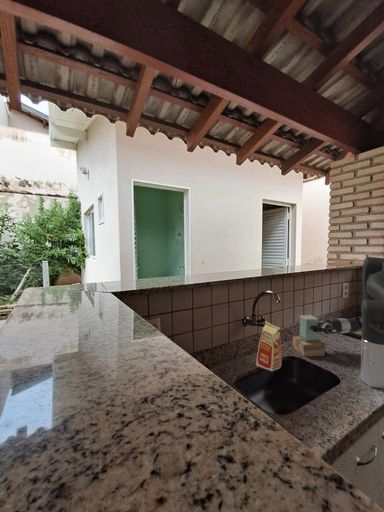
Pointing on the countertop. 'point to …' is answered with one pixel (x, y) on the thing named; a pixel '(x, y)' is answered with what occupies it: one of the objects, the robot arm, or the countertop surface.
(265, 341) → the milk carton
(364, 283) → the robot arm
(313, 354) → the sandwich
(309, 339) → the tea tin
